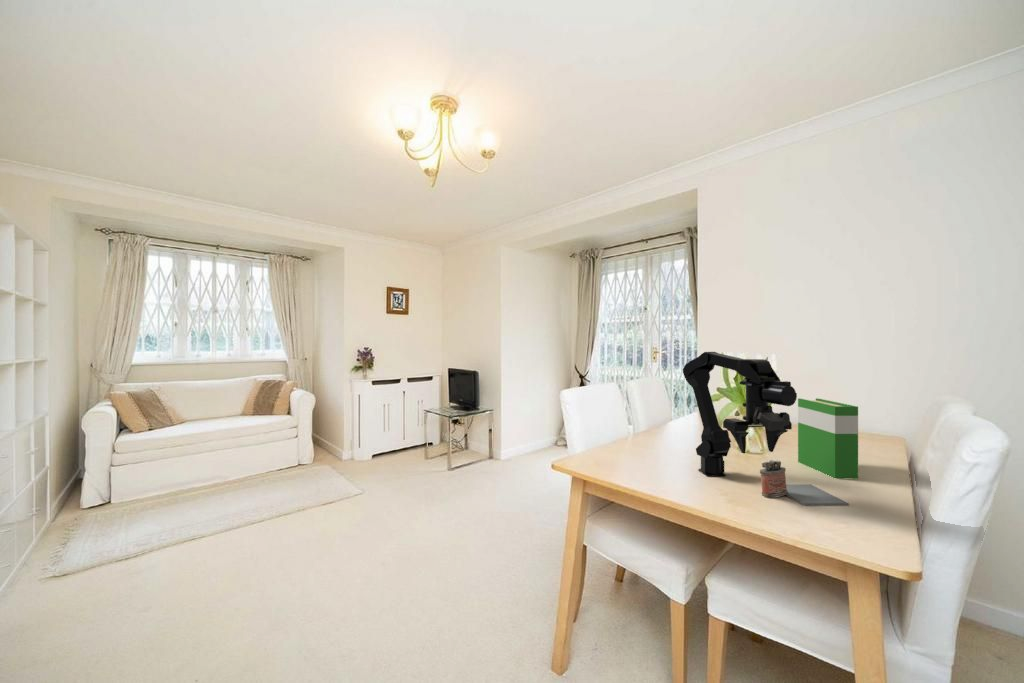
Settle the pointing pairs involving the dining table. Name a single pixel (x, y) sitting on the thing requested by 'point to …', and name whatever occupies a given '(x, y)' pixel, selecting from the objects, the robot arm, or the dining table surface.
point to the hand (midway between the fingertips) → (757, 452)
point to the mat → (812, 495)
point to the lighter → (773, 479)
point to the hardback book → (828, 437)
